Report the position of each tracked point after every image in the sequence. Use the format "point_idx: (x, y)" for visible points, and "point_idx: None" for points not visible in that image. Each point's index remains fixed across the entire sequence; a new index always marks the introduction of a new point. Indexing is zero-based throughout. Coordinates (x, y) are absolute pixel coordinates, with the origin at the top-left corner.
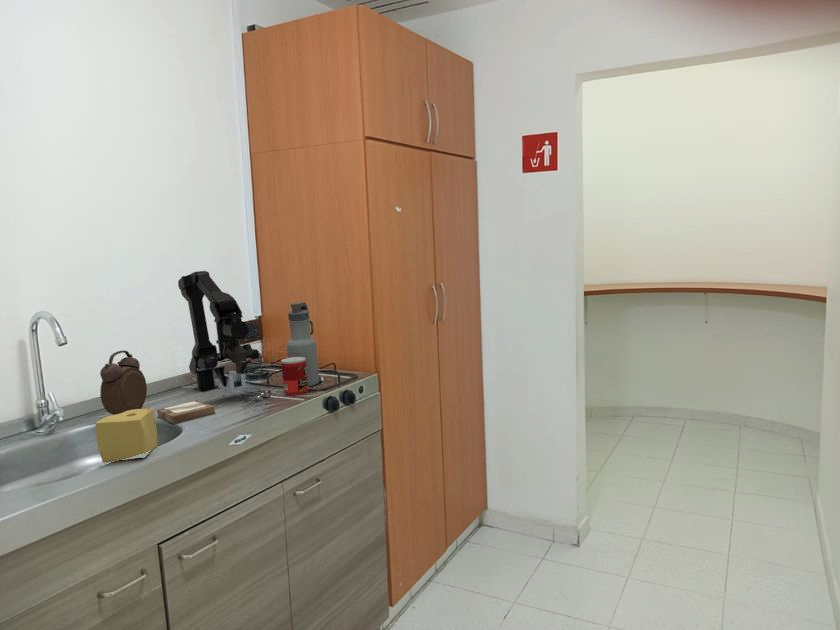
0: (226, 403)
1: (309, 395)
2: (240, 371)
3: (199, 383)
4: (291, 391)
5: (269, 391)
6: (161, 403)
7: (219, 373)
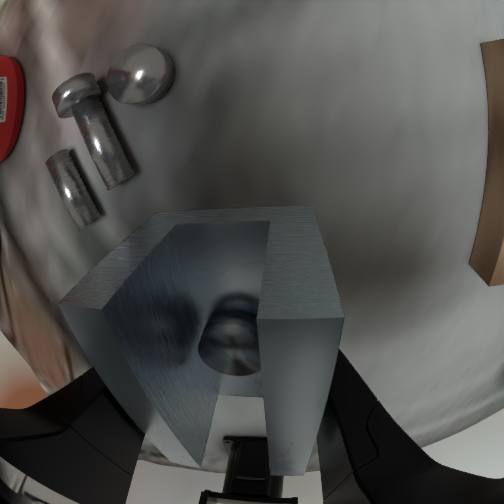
0: (350, 185)
1: (4, 25)
2: (101, 402)
3: None
4: (7, 63)
5: (54, 97)
6: (441, 404)
7: (416, 447)
